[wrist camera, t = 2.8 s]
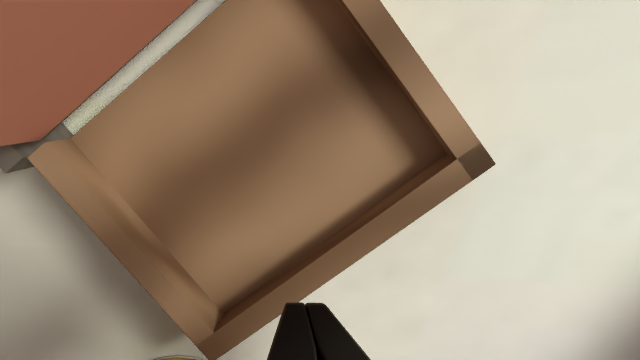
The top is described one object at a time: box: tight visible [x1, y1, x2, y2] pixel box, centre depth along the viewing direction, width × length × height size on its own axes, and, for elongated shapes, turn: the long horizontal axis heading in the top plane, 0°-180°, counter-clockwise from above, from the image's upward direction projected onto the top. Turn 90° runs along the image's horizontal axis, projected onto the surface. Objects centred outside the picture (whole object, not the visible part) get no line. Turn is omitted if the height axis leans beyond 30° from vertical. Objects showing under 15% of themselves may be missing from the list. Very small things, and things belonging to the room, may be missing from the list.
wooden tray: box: [0, 0, 495, 360], centre depth 17 cm, size 13×17×4 cm
